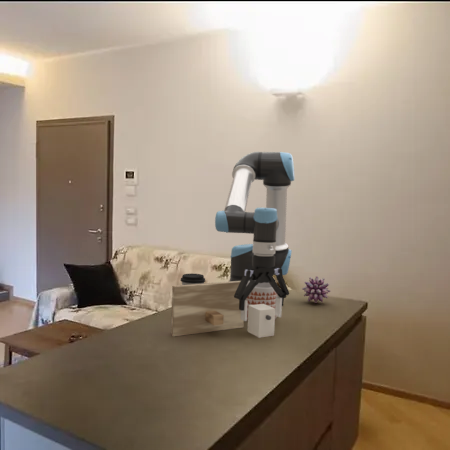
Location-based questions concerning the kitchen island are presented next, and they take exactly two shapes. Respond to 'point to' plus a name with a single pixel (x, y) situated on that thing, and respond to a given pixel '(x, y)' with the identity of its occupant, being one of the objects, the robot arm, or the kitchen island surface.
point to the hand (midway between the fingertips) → (261, 318)
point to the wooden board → (205, 308)
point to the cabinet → (261, 320)
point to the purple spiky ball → (316, 289)
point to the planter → (262, 296)
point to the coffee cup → (192, 279)
